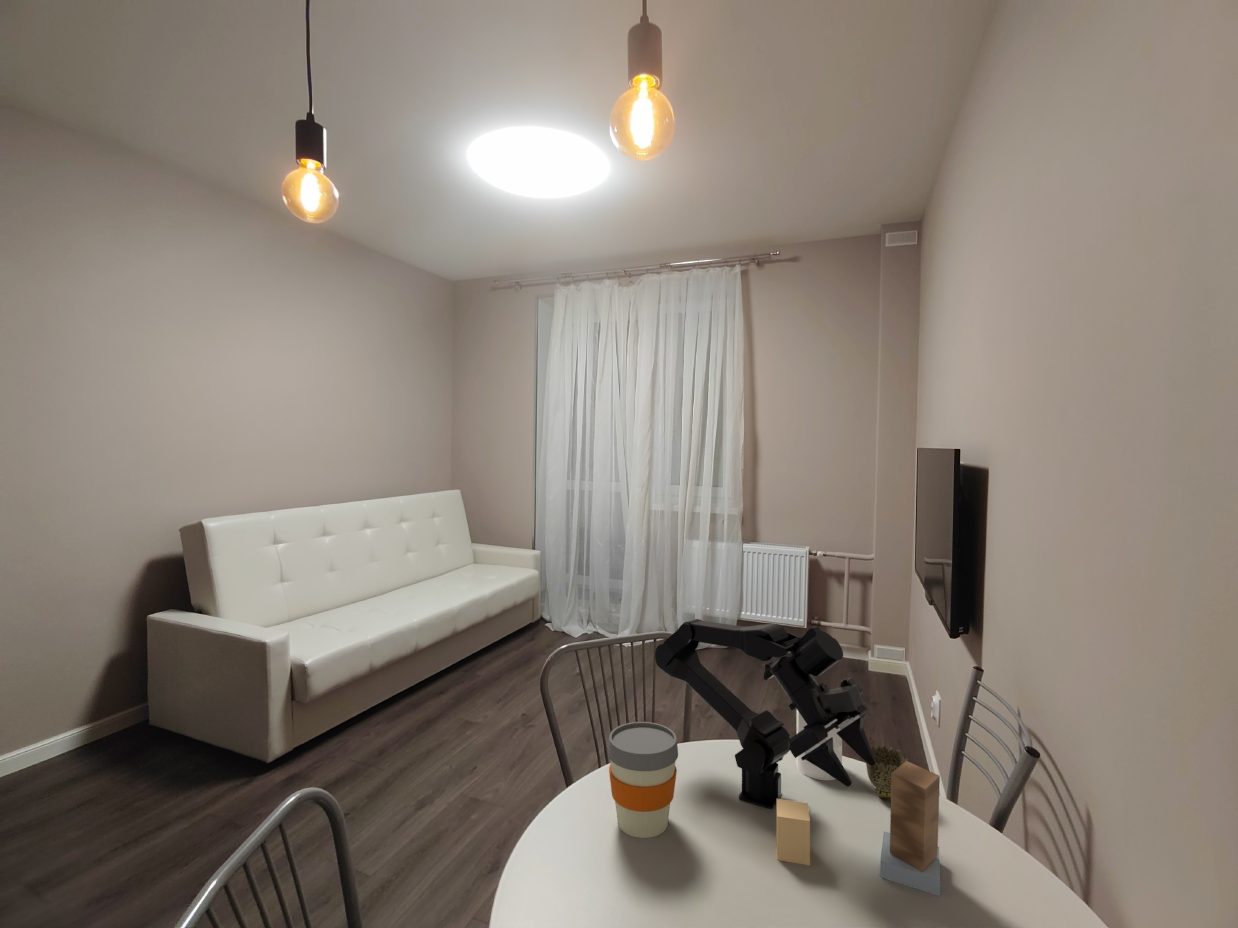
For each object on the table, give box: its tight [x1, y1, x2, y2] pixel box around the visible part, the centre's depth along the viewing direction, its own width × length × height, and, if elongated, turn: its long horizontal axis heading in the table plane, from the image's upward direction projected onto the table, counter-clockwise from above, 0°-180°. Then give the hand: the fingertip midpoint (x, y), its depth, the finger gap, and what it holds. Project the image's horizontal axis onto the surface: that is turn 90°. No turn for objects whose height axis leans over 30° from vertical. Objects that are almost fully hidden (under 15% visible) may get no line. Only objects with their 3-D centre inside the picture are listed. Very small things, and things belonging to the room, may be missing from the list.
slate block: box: [879, 830, 941, 897], centre depth 89 cm, size 8×8×3 cm
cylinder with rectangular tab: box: [796, 709, 843, 781], centre depth 118 cm, size 9×9×12 cm
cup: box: [865, 744, 909, 801], centre depth 109 cm, size 8×7×8 cm
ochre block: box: [776, 798, 811, 866], centre depth 93 cm, size 5×5×7 cm
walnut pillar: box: [889, 761, 941, 872], centre depth 88 cm, size 5×5×13 cm
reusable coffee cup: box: [607, 721, 679, 839], centre depth 101 cm, size 12×13×15 cm
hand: (862, 774), depth 94 cm, fingers open, 9 cm apart
